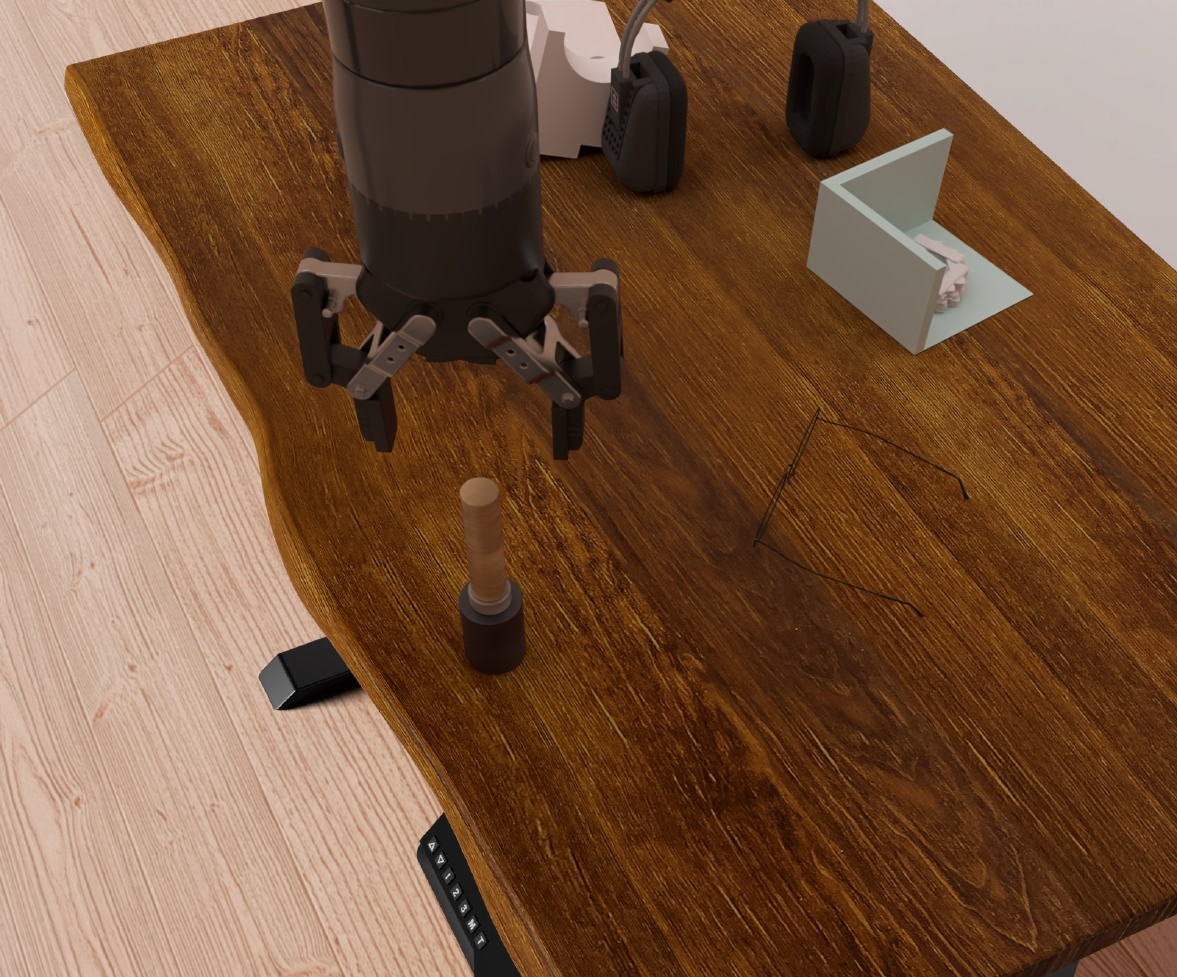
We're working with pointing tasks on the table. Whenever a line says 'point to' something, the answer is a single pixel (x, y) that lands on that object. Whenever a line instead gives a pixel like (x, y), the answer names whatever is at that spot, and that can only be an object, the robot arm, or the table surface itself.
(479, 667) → the cylinder with wooden handle
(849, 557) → the table surface
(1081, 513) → the table surface
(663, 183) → the headphones
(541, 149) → the white notched block
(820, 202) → the l-shaped corner panel
